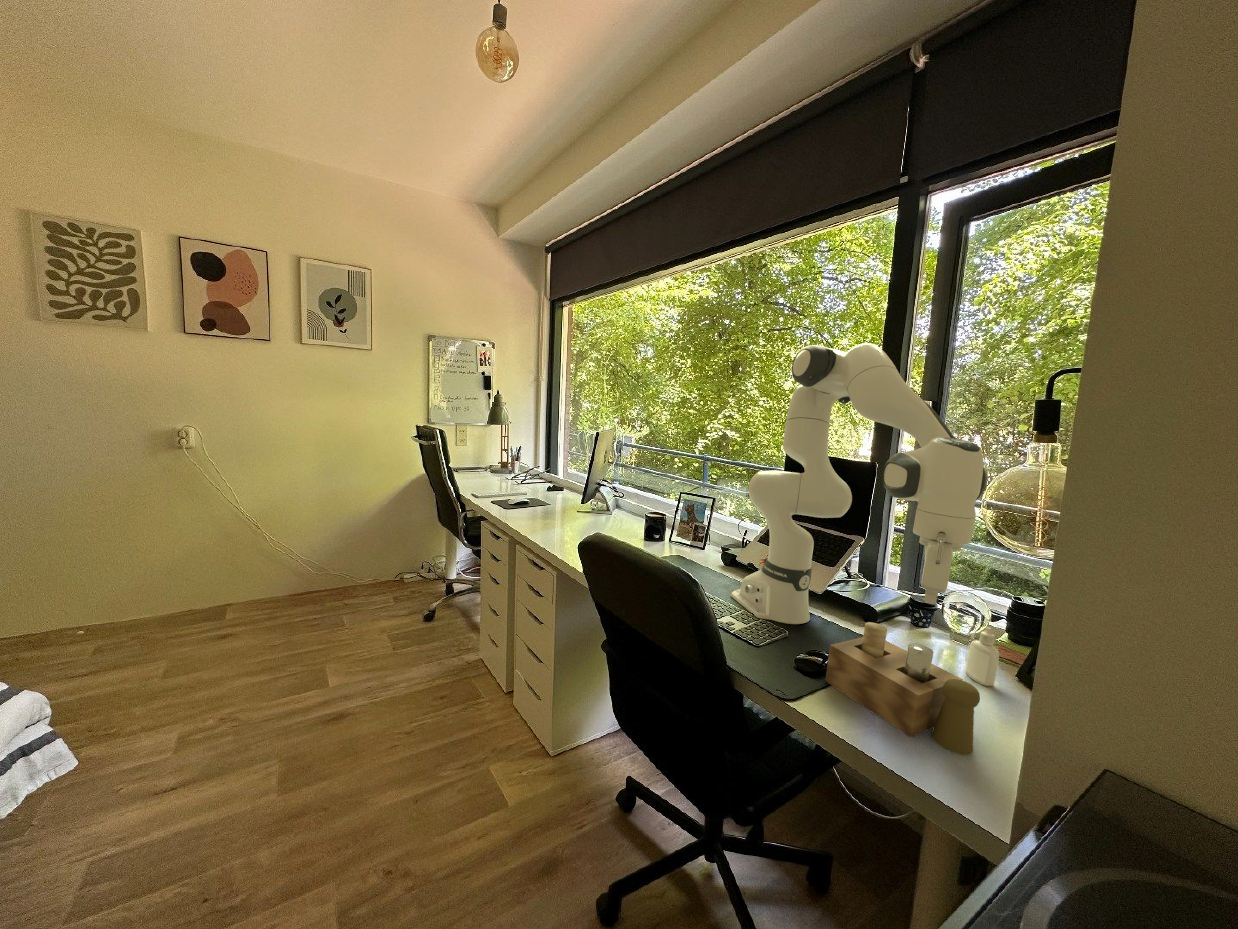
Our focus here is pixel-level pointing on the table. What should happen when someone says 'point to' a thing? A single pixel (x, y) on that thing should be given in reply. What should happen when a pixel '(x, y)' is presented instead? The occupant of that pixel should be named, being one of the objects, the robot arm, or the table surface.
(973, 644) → the eye dropper bottle
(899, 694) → the socket block
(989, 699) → the table surface
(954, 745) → the cork
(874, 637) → the beech peg
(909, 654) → the grey metal peg
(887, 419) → the robot arm
